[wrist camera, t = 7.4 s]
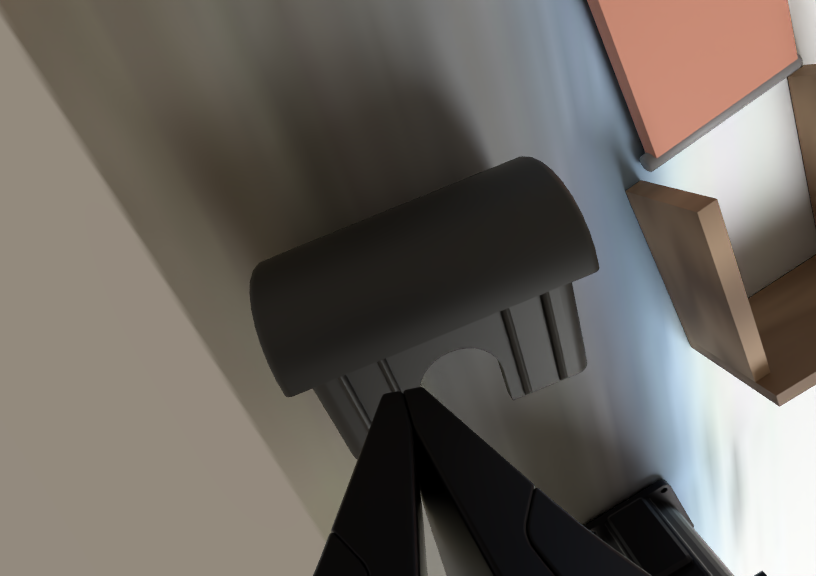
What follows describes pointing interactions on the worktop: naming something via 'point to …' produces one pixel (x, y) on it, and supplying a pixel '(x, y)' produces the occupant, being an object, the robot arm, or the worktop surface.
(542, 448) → the worktop surface
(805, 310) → the brown wooden open frame
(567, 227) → the end cap
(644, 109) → the salmon pink flat panel
